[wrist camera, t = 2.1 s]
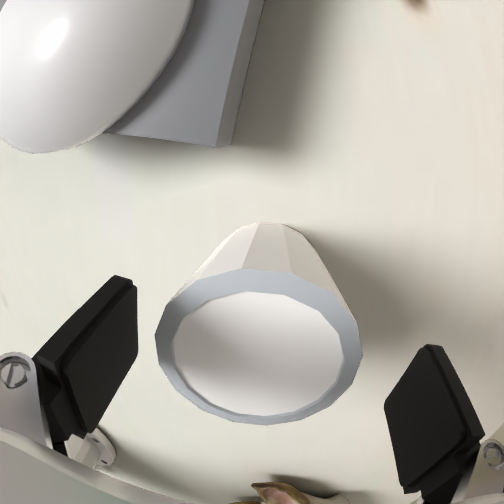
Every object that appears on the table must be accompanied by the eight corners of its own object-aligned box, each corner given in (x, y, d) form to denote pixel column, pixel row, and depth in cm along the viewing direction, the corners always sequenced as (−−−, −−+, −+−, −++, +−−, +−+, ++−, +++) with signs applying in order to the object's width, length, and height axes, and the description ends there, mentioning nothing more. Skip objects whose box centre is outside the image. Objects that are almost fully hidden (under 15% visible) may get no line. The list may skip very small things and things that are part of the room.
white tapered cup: (217, 192, 14) (166, 239, 8) (351, 232, 14) (401, 304, 8) (191, 309, 17) (148, 399, 10) (305, 340, 17) (314, 438, 10)
